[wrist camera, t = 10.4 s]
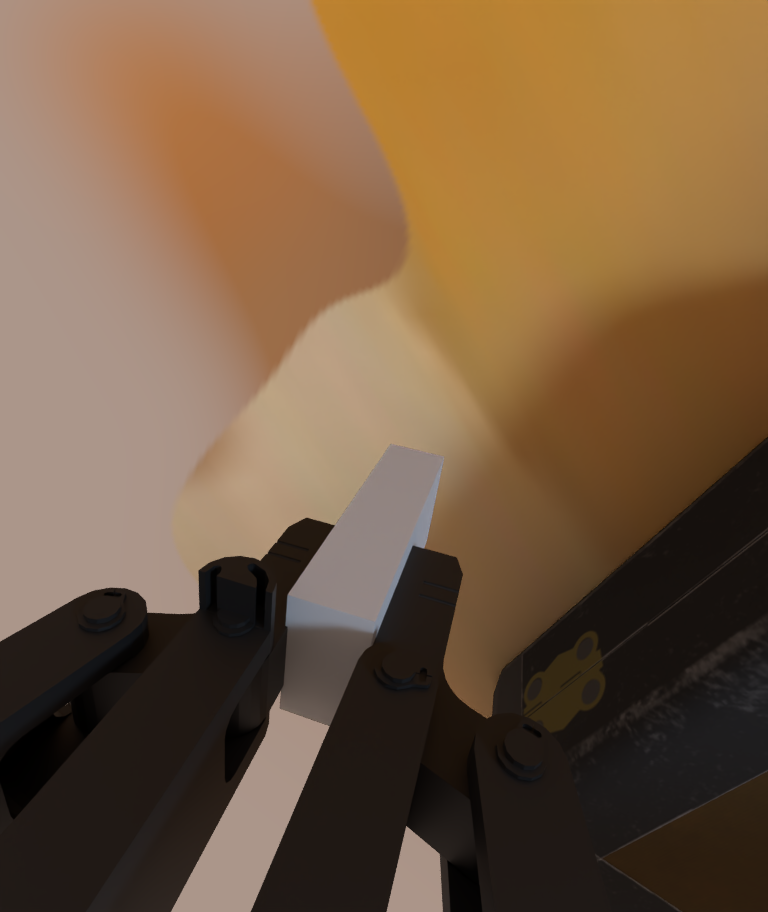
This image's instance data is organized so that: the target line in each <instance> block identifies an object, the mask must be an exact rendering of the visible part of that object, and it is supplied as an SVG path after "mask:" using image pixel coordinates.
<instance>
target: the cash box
mask: <svg viewBox="0 0 768 912" xmlns="http://www.w3.org/2000/svg"><path fill="white" fill-rule="evenodd" d="M501 713H515V714H518V715H521V716H525V717H528V718H531V719H532V720H534V721H535V722H537V723H538V724H540V725H542V726H543V727H545V728H546V729H547V730H548V731H549V732H550V733H551V734H552V735H553V736H554V738H555V739H556V740H557V741H558V742H559V743H560V745H561V747H562V749H563V751H564V754H565V756H566V758H567V760H568V763H569V766H570V770H571V773H572V777H573V780H574V783H575V787H576V790H577V794H578V797H579V801H580V804H581V807H582V811H583V814H584V818H585V821H586V825H587V828H588V832H589V835H590V838H591V842H592V845H593V849H594V852H595V856H596V859H597V862H598V866H599V869H600V873H601V876H602V880H603V883H604V886H605V890H606V893H607V897H608V900H609V904H610V907H611V910H612V912H768V437H767V438H766V439H765V440H764V441H763V442H762V443H760V444H759V445H758V446H757V447H756V448H755V449H754V450H752V451H751V452H750V453H749V454H748V455H747V456H746V457H744V458H743V459H742V460H741V461H740V462H739V463H738V464H736V465H735V466H734V467H733V468H732V469H731V470H730V471H728V472H727V473H726V474H725V475H724V476H723V477H722V478H720V479H719V480H718V481H717V482H716V483H715V484H714V485H712V486H711V487H710V488H709V489H708V490H707V491H706V492H704V493H703V494H702V495H701V496H700V497H699V498H698V499H696V500H695V501H694V502H693V503H692V504H691V505H690V506H688V507H687V508H686V509H685V510H684V511H683V512H682V513H681V514H679V515H678V516H677V517H676V518H675V519H674V520H673V521H671V522H670V523H669V524H668V525H667V526H666V527H665V528H663V529H662V530H661V531H660V532H659V533H658V534H657V535H655V536H654V537H653V538H652V539H651V540H650V541H649V542H647V543H646V544H645V545H644V546H643V547H642V548H641V549H639V550H638V551H637V552H636V553H635V554H634V555H633V556H631V557H630V558H629V559H628V560H627V561H626V562H625V563H623V564H622V565H621V566H620V567H619V568H618V569H617V570H615V571H614V572H613V573H612V574H611V575H610V576H609V577H607V578H606V579H605V580H604V581H603V582H602V583H601V584H599V585H598V586H597V587H596V588H595V589H594V590H593V591H591V592H590V593H589V594H588V595H587V596H586V597H585V598H583V599H582V600H581V601H580V602H579V603H578V604H577V605H575V606H574V607H573V608H572V609H571V610H570V611H569V612H567V613H566V614H565V615H564V616H563V617H562V618H561V619H559V620H558V621H557V622H556V623H555V624H554V625H553V626H551V627H550V628H549V629H548V630H547V631H546V632H545V633H543V634H542V635H541V636H540V637H539V638H538V639H537V640H535V641H534V642H533V643H532V644H531V645H530V646H529V647H527V648H526V649H525V650H524V651H523V652H522V653H521V654H520V655H519V656H517V657H516V658H515V659H514V660H513V661H512V662H511V663H509V664H508V665H507V666H506V667H505V668H504V669H503V670H502V672H501V675H500V677H499V680H498V683H497V686H496V689H495V691H494V697H493V712H492V716H493V715H495V714H501Z"/></svg>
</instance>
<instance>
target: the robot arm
mask: <svg viewBox="0 0 768 912" xmlns="http://www.w3.org/2000/svg"><path fill="white" fill-rule="evenodd" d="M443 461H444V456H440V455H436V454H431V453H427V452H423V451H419V450H415V449H411V448H406V447H402V446H398V445H394V444H390V446H389V447H388V448H387V450H386V451H385V453H384V454H383V456H382V457H381V459H380V460H379V462H378V463H377V465H376V466H375V468H374V469H373V470H372V472H371V473H370V475H369V476H368V478H367V479H366V481H365V482H364V484H363V485H362V487H361V488H360V490H359V491H358V492H357V494H356V495H355V497H354V498H353V500H352V501H351V503H350V504H349V506H348V507H347V509H346V510H345V511H344V513H343V514H342V516H341V517H340V519H339V520H338V522H337V523H336V525H331V524H328V523H324V522H320V521H317V520H313V519H310V518H305V519H303V520H301V521H299V522H297V523H295V524H293V525H291V526H289V527H288V528H287V530H286V531H285V532H284V533H283V534H282V536H281V537H280V538H279V539H278V541H277V543H275V544H274V545H273V546H272V548H271V549H270V550H269V552H268V554H266V555H265V556H264V557H263V558H262V560H261V561H259V560H257V559H255V558H249V557H243V556H235V557H224V558H221V559H218V560H215V561H212V562H210V563H208V564H207V565H205V566H204V567H203V568H201V569H200V570H199V601H200V602H199V605H200V609H199V610H198V611H197V612H196V613H194V614H163V613H147V607H146V601H145V600H144V599H143V598H142V597H141V596H140V595H139V594H138V593H136V592H134V591H131V590H128V589H125V588H106V589H101V590H95V591H92V592H89V593H87V594H85V595H82V596H80V597H78V598H76V599H74V600H72V601H71V602H69V603H67V604H65V605H64V606H62V607H60V608H58V609H57V610H55V611H53V612H52V613H50V614H48V615H46V616H44V617H43V618H41V619H39V620H37V621H36V622H34V623H32V624H30V625H29V626H27V627H25V628H23V629H22V630H20V631H18V632H16V633H15V634H13V635H11V636H10V637H8V638H6V639H4V640H2V641H1V642H0V912H171V910H172V908H173V907H174V905H175V903H176V901H177V899H178V897H179V895H180V893H181V892H182V890H183V888H184V886H185V884H186V882H187V880H188V878H189V877H190V875H191V873H192V871H193V869H194V867H195V865H196V864H197V862H198V860H199V858H200V856H201V854H202V852H203V851H204V849H205V847H206V845H207V843H208V841H209V839H210V837H211V836H212V834H213V832H214V830H215V828H216V826H217V825H218V823H219V821H220V819H221V817H222V815H223V813H224V811H225V809H226V808H227V806H228V804H229V802H230V800H231V798H232V797H233V795H234V793H235V791H236V789H237V787H238V785H239V783H240V782H241V780H242V778H243V776H244V774H245V772H246V770H247V769H248V767H249V765H250V763H251V761H252V759H253V757H254V755H255V754H256V752H257V750H258V748H259V746H260V744H261V742H262V741H263V739H264V737H265V734H266V731H267V728H268V724H269V711H270V709H271V707H272V705H273V703H274V702H275V700H276V698H277V696H278V694H279V693H280V691H281V699H280V709H283V710H286V711H289V712H291V713H294V714H297V715H300V716H303V717H305V718H308V719H311V720H314V721H317V722H320V723H322V724H325V725H328V726H330V727H329V729H328V732H327V734H326V736H325V739H324V741H323V743H322V746H321V748H320V750H319V753H318V755H317V757H316V760H315V762H314V764H313V767H312V769H311V772H310V774H309V776H308V779H307V781H306V783H305V786H304V788H303V790H302V793H301V795H300V797H299V800H298V802H297V804H296V807H295V809H294V812H293V814H292V816H291V819H290V821H289V823H288V826H287V828H286V830H285V833H284V835H283V838H282V840H281V842H280V844H279V847H278V849H277V851H276V854H275V856H274V859H273V861H272V863H271V865H270V868H269V870H268V873H267V875H266V878H265V880H264V882H263V885H262V887H261V889H260V892H259V894H258V896H257V898H256V901H255V903H254V906H253V908H252V910H251V912H386V911H387V907H388V903H389V898H390V894H391V889H392V885H393V881H394V876H395V872H396V868H397V863H398V859H399V855H400V850H401V846H402V841H403V837H404V833H405V828H406V826H407V827H408V828H410V829H411V830H412V831H413V832H414V833H415V834H417V835H418V836H419V837H420V838H422V839H423V840H424V841H425V842H426V843H428V844H429V845H430V846H431V847H432V848H434V849H435V850H436V851H437V852H438V853H439V854H440V864H441V883H442V902H443V912H612V910H611V907H610V904H609V900H608V897H607V893H606V890H605V886H604V883H603V880H602V876H601V873H600V869H599V866H598V862H597V859H596V856H595V852H594V849H593V845H592V842H591V838H590V835H589V832H588V828H587V825H586V821H585V818H584V814H583V811H582V807H581V804H580V801H579V797H578V794H577V790H576V787H575V783H574V780H573V777H572V773H571V770H570V766H569V763H568V760H567V758H566V756H565V754H564V751H563V749H562V747H561V745H560V743H559V742H558V741H557V740H556V739H555V738H554V736H553V735H552V734H551V733H550V732H549V731H548V730H547V729H546V728H545V727H543V726H542V725H540V724H538V723H537V722H535V721H534V720H532V719H531V718H528V717H525V716H521V715H518V714H515V713H501V714H495V715H493V716H491V717H489V718H487V719H486V718H485V717H483V716H482V715H480V714H479V713H477V712H476V711H474V710H473V709H471V708H470V707H469V706H467V705H466V704H465V703H464V702H462V701H461V700H460V699H459V698H458V697H457V696H456V695H455V693H454V692H453V691H452V690H451V688H450V687H449V685H448V683H447V681H446V679H445V675H444V671H443V660H444V655H445V651H446V646H447V642H448V637H449V633H450V629H451V624H452V620H453V615H454V611H455V606H456V602H457V598H458V593H459V589H460V585H461V580H462V576H463V573H462V571H461V568H460V565H459V562H458V560H457V558H456V557H453V556H449V555H446V554H442V553H438V552H435V551H431V550H428V549H424V547H425V544H426V542H427V538H428V533H429V528H430V523H431V519H432V514H433V509H434V504H435V499H436V495H437V490H438V485H439V480H440V475H441V470H442V466H443ZM67 703H68V704H67ZM66 704H67V705H66Z"/></svg>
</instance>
